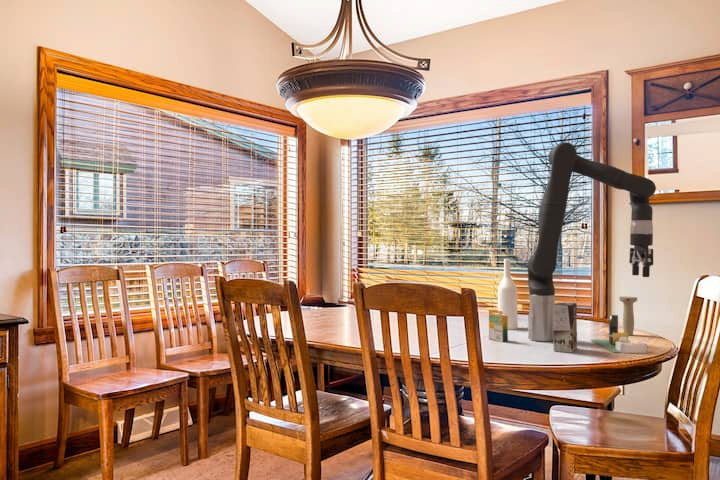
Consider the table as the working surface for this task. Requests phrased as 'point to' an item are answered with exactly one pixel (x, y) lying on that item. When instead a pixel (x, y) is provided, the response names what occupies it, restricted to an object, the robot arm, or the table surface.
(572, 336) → the coffee box
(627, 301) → the handle
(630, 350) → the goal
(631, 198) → the robot arm
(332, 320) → the table surface
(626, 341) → the ball
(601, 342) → the pitch
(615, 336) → the long multicoloured device
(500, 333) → the crayon box
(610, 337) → the brown cardboard carton
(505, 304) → the bottle
